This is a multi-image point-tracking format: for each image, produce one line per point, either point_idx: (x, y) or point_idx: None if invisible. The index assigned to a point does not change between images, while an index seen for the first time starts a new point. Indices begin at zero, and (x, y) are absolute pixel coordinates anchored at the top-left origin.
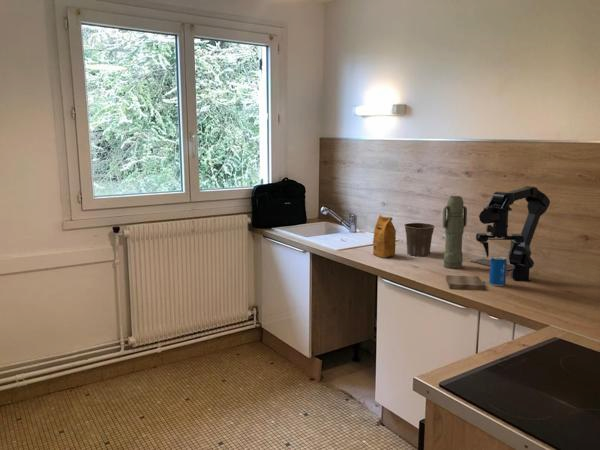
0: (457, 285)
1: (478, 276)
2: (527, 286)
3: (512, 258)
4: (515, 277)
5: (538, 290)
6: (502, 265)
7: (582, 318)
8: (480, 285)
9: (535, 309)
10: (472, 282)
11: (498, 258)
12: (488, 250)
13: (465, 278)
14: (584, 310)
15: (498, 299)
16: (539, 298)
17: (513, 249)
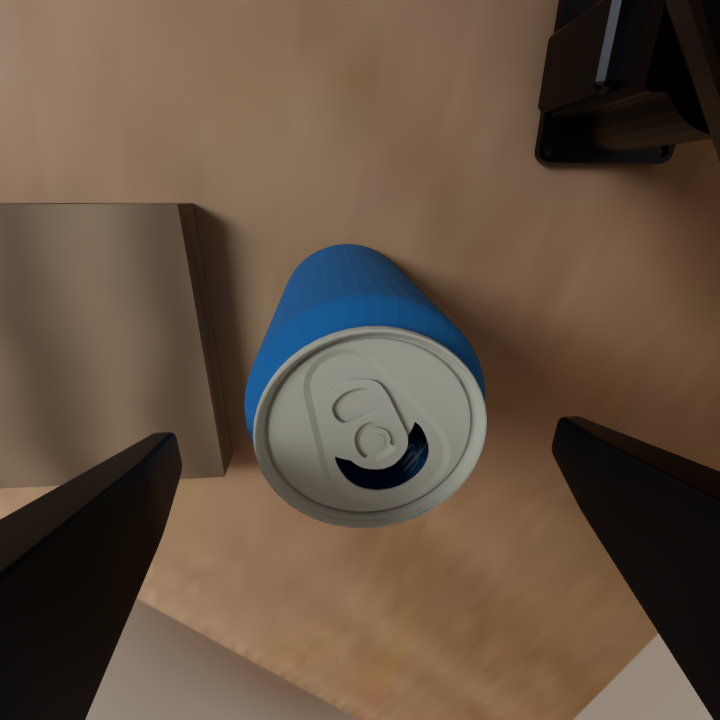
0: (21, 481)
1: (176, 209)
2: (561, 323)
3: (706, 71)
4: (565, 120)
5: (588, 404)
6: (392, 468)
7: (563, 694)
8: (195, 476)
9: (433, 659)
10: (128, 421)
11: (360, 462)
12: (110, 657)
13: (49, 308)
14: (626, 632)
15: (298, 586)
16: (518, 537)
17: (710, 664)
